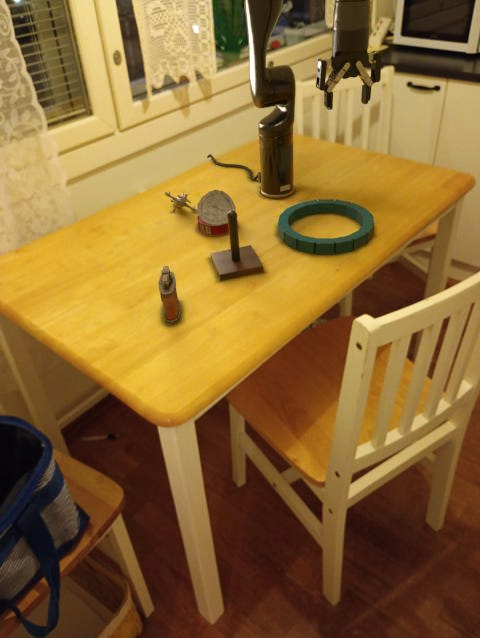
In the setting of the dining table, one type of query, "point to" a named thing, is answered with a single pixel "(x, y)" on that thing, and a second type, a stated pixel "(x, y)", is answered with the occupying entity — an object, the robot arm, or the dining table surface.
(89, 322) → the dining table surface
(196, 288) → the dining table surface
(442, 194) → the dining table surface
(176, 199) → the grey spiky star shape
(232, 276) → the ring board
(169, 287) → the lighter
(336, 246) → the ring
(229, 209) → the canned food
